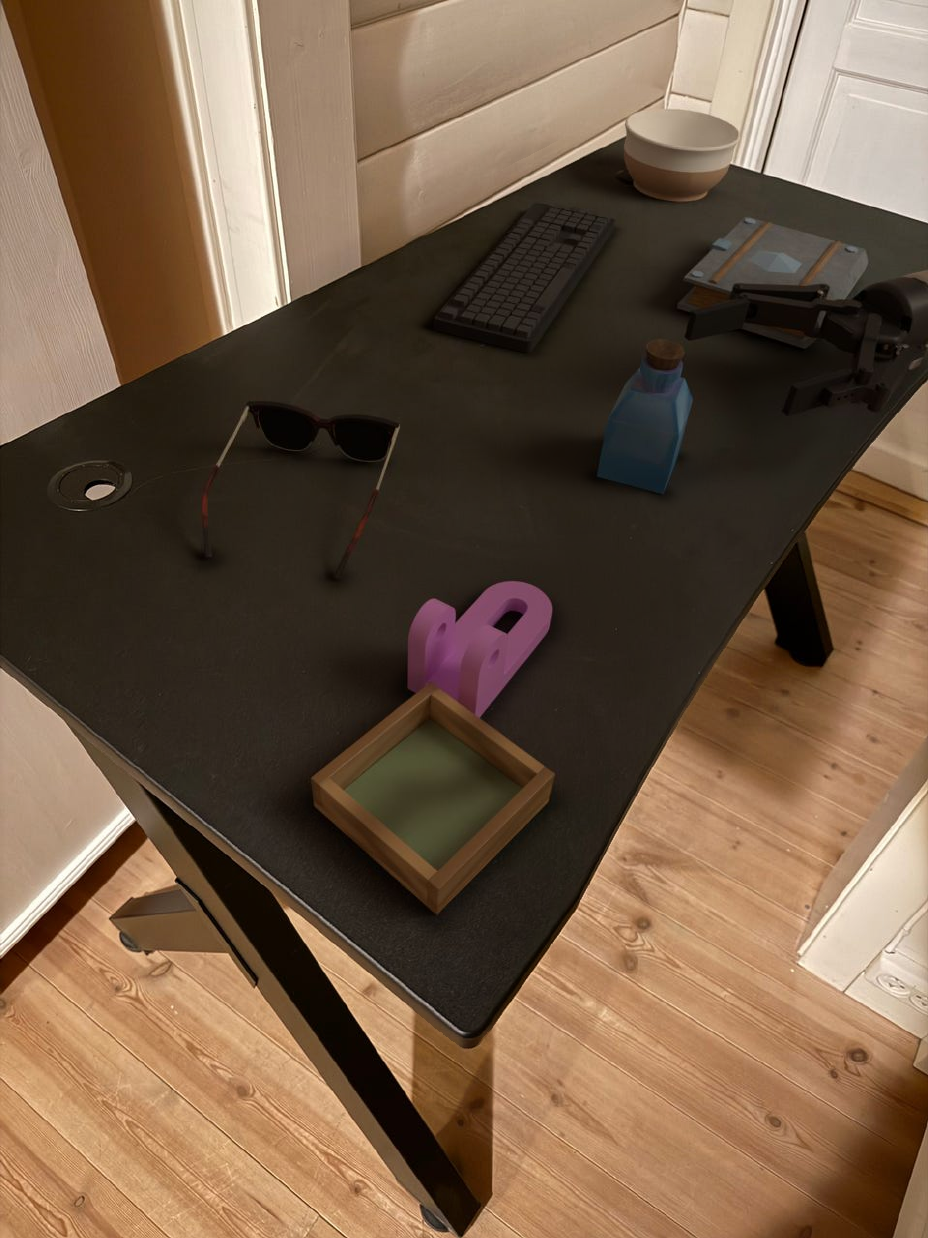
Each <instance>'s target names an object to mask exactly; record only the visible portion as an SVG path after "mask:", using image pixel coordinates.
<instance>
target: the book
mask: <svg viewBox="0 0 928 1238" xmlns="http://www.w3.org/2000/svg"><path fill="white" fill-rule="evenodd" d="M868 265H869V258H868V255H867V250H866V249H865V248H862V247H859V246H854V245H851V244H848V243H844V242H841V241H840V240H833V239H829V238H826V237H822V236H818V235H814V234H813V233H807V232H804V231H801V230H796V229H794V228H793V229H792V228H789V227H786V226H783V225H778V224H775V223H772V222H771V221H764V220H760V219H757V218H753V217H750V216H745V217H743V219H741V220H740V222H738V224H736V225H735V226H734V227H733V228H732V230H730V231H729V232H728V234H726V235H725V236H724V237H723V238H722V237H718V238H716V240H714V242H713V243H712V244H711V245H710V246H709V250H708V253H707V254H706V255H705V256H704V257H703V258H702V259H701V260H700V261H699V262H697V264H696V265H695V266H694V267H693V268H692V269H691V270H690V271H689V272H687V274H686V275H685V276H684V278H683V282H687V283H690V284H693V287H692V288H691V289H690V290H689V291H688V292H687V293H686V295H684V296H683V297H682V299H681V300H680V301H678V303H677V306H676V307H677V308H676V309H678V310H682V311H685V312H688V313H691V311H693V310H697V309H701V308H705V307H709V306H712V305H713V304H716V303H720V302H724V301H728V300H729V298H730V295H731V291H732V288H733V285H734V284H735V283H747V284H773V285H800V286H808V285H814V284H827V285H829V286H830V289H829V292H828V296H830V297H831V298H832V299H834V300H836V299H847V297H848V295H849V294H850V293H851V291H852V290H853V289H854V287H855V285H856V284H857V282H858V281H859V280H860V278H861V277H862V275H863V274H864V272H865V271H866V270H867V267H868ZM825 313H826V312H825V311H821V312H820V313H819V316H818V319H817V321H816V324H815V327H817V328H820V326H821V324H822V321H823V318H824V316H825ZM740 329H742V330H744V331H746V332H747V331H748V332H751V333H754V334H757V335H760V336H764V337H766V338H770V339H773V340H776V341H779V342H782V343H785V344H788V345H792V346H795V347H798V348H801V349H804V350H806V349H807V348H808V347H810V346H811V345H812V344H813V343H814V342H816V341H817V340H819V339H818V338H811V337H807V336H805V334H804V332H803V331H798V330H791V329H785V328H778V327H771V326H765V325H758V324H752V323H745V322H744V324H743V328H740Z"/></svg>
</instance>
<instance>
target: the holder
mask: <svg viewBox="0 0 928 1238" xmlns="http://www.w3.org/2000/svg"><path fill="white" fill-rule="evenodd" d="M555 775H556V774H555V772H554V771H552V770H550V769H549V768H548V767H547V766H545V765H544V764H542V763H541V762H539V761H538V760H537V759H536V758H534V757H533V756H531V755H530V754H529V753H527V752H526V751H525V750H523V749H522V748H521V747H520V746H518V745H517V744H515V743H514V742H513V741H511V740H510V739H508V738H507V737H505V735H503V734H502V733H500V731H497V729H495V728H494V727H492V726H491V725H490V724H488V722H486V721H484V720H483V719H481V717H480V718H479V717H477V716H476V715H475V714H473V713H472V712H471V711H469V710H468V709H466V708H465V707H464V706H462V705H461V704H460V703H458V702H457V701H456V700H454V699H453V698H452V697H450V696H449V695H448V694H446V693H445V692H444V691H442V690H441V689H439V688H438V687H437V686H435V685H434V684H433V683H431V682H429V683H428V684H427V685H426V686H425V687H423V688H422V689H421V690H420V691H418V692H417V693H414V694H413V695H412V696H411V697H409V698H408V699H407V700H406V701H405V702H404V703H402V704H401V705H399V706H397V708H396V709H394V710H393V711H392V712H391V713H390V714H388V715H387V716H386V717H385V718H384V719H382V720H380V721H379V722H378V723H377V724H376V725H375V726H373V727H372V728H371V729H370V730H368V731H367V732H366V733H365V734H363V735H362V736H361V737H360V738H358V739H357V740H356V741H355V742H353V743H352V744H351V745H350V746H349V747H347V748H346V749H345V750H344V751H342V752H341V753H340V754H339V755H337V756H336V757H335V758H334V759H332V760H331V761H330V762H329V763H328V764H326V765H325V766H324V767H322V768H321V769H320V770H319V771H318V772H316V773H314V775H313V776H311V778H310V782H311V783H310V784H311V790H312V798H313V799H312V800H313V806H314V807H315V808H316V810H318V811H319V812H320V813H321V814H322V815H324V817H326V818H327V819H328V820H329V821H330V822H331V823H332V824H334V825H335V826H336V827H337V829H339V830H340V831H342V833H343V834H345V835H346V836H347V837H348V838H349V839H351V840H352V842H354V843H355V844H356V845H357V846H358V847H360V849H362V850H363V851H364V852H365V853H366V854H367V855H369V856H370V857H371V858H372V859H373V860H374V861H375V862H376V863H378V864H379V865H380V866H381V868H383V869H384V870H385V871H386V872H388V873H389V874H390V875H391V876H392V877H393V878H394V879H395V880H396V881H398V882H399V883H400V884H401V885H402V886H403V887H404V888H406V890H408V891H409V892H410V893H411V894H412V895H413V896H415V897H416V899H418V900H419V901H420V902H421V903H422V904H424V905H425V906H426V907H427V908H428V909H429V910H430V911H431V912H432V913H434V914H435V915H439V914H440V912H441V911H442V910H443V909H445V908H446V906H448V904H449V903H450V902H451V901H452V900H453V899H454V898H455V897H456V896H457V895H458V894H459V893H461V891H462V890H463V889H464V888H465V887H466V886H467V885H468V884H469V883H470V882H471V881H472V880H473V879H474V878H475V877H476V876H477V875H478V874H479V873H480V872H481V871H482V870H483V869H484V868H485V867H486V866H487V865H488V864H489V863H490V862H491V861H492V860H493V858H495V857H496V856H497V855H498V854H499V853H500V851H502V850H503V849H504V848H505V846H507V845H508V843H510V842H511V841H512V839H513V838H514V837H516V835H518V834H519V832H520V831H522V829H523V828H524V827H526V825H527V824H529V822H530V821H531V820H532V819H533V818H534V817H535V816H536V815H537V814H538V813H539V812H540V811H541V810H542V809H543V808H544V807H546V805H548V803H549V801H550V797H551V793H552V788H553V784H554V780H555Z"/></svg>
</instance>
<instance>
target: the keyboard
mask: <svg viewBox="0 0 928 1238" xmlns="http://www.w3.org/2000/svg"><path fill="white" fill-rule="evenodd" d="M615 222H616V220H615V219H614V218H612V217H611V214H609V213H604V212H600V211H595V210H588V209H585V208H581V207H576V206H571V205H564V204H562V203H558V202H557V203H556V202H554V203H553V204H552V205H549V204H545V203H540V202H534V203H533V204H532V205H530V207H529V208H528V209H527V210H526V211H525V213H524V214H523V215H522V216H521V217H520V218H519V220H517V222H516V223H515V224H514V225H513V226H512V227H511V228H510V230H509V231H508V232H507V233H506V234H505V235H504V237H503V238H502V239H501V240H500V241H499V242H498V243H497V244H496V246H495V247H494V248H493V249H492V250H491V251H490V252H489V253H488V255H487V256H486V257H485V258H484V259H483V260H482V261H481V262H480V264H479V265H478V266H477V267H476V268H475V270H474V271H473V272H472V273H471V274H470V276H469V277H467V279H465V281H464V282H463V283H462V284H461V285H460V287H458V289H457V290H456V292H454V294H453V295H452V296H451V297H450V298H449V299H448V301H447V302H446V303H445V304H444V305H443V306H442V307H441V308H440V309H439V310H438V312H437V313H436V314H435V315H434V331H436V332H441V333H443V334H448V335H452V336H457V337H461V338H464V339H469V340H472V341H476V342H481V343H485V344H488V345H493V346H495V347H501V348H505V349H509V350H513V351H517V352H520V353H525V354H530V353H532V352H533V351H534V349H535V348H536V346H537V345H538V343H539V342H540V340H541V339H542V338H543V335H544V334H545V333H546V331H547V330H548V328H549V327H550V325H552V323H553V321H554V319H555V318H556V317H557V316H558V314H559V312H560V311H561V309H562V308H563V306H564V305H565V303H566V302H567V300H569V298H570V296H571V294H572V293H573V292H574V290H575V289H576V287H577V286H578V284H579V282H580V281H581V280H582V278H583V276H584V275H585V273H586V272H587V271H588V269H589V268H590V266H591V265H592V263H593V262H594V261H595V259H596V257H597V256H598V254H599V253H600V252H601V250H602V249H603V247H604V246H605V245H606V242H607V241H608V239H609V238H610V237H611V236H612V233H613V232H614V228H615Z"/></svg>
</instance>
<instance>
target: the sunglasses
mask: <svg viewBox="0 0 928 1238" xmlns="http://www.w3.org/2000/svg"><path fill="white" fill-rule="evenodd" d="M245 405H246V406H245V408H244V410H243V412H242V414H241V416H240V417H239V418H240V419H239V421H238V423H237V425H236V427H235V428H234V431H233V432H232V435H231V436H230V437H229V438H230V439H229V440H228V442H227V444H226V446H225V448H224V450H223V451H222V454H221V455H220V457H219V458H218V460H217V463H216V464H215V466H214V467H213V469H212V471H211V473H210V475H209V477H208V479H207V481H206V483H205V486H204V488H203V492H202V497H201V522H202V536H203V539H202V540H203V553H204V558H205V559H210V558H212V557H213V554H212V548H211V542H210V534H209V533H210V531H209V517H208V500H209V496H210V495H209V494H210V490H211V489H212V485H213V483H214V482H215V480H216V478H217V475H218V474H219V471H220V466H221V465H222V463H223V461H224V458H225V456H226V454H227V453H228V451H229V449H230V447H231V445H232V443H233V441H234V439H235V437H236V436H237V433H238V431H239V429H240V427H241V426H242V424H243V423H245V420H246V418H247V417H248V415H249V413H250V414H251V415H252V417H253V421H254V423H255V426H256V429H258V430H261V432H262V435H263V436H264V438H265V440H266V441H267V442H268V443H269V444H270V445H272V446H273V447H277V448H279V449H282V450H285V451H291V452H303V451H305V450H307V449H308V448H309V447H310V445H311V444H312V443H314V442H315V440H316V438H317V436H318V434H319V431H320V429H324V430H326V432H327V433H328V435H329V437H330V439H331V441H332V442H333V444H334V446H336V447H339V449H340V451H342V453H343V454H344V455H346V457H348V458H350V459H352V460H354V461H359V462H364V463H373V462H381V461H383V460H384V459H385V462H384V464H383V467H382V470H381V471H380V472H381V473H380V476H379V478H378V481H377V483H376V487H375V489H373V490H372V493H371V496H370V499H369V502H368V505H367V507H366V510H365V512H364V514H363V515H362V517H361V520H360V521H359V524H358V526H357V527H356V530H355V532H354V534H353V537H352V538H351V540H350V542H349V544H348V546H347V548H346V550H345V552H344V554H343V556H342V558H341V560H340V562H339V564H338V566H337V568H336V571H335V573H334V574H333V577H334V578H335V579H337V580H341V578H342V576H343V573H344V571H345V568H346V565H347V563H348V561H349V558H350V556H351V555H352V553H353V551H354V548H355V547H356V544H357V542H358V541H359V538H360V536H361V534H362V532H363V530H364V528H365V525H366V523H367V522H368V520H369V518H370V515H371V513H372V511H373V509H374V506H375V504H376V500H377V497H378V494H379V490H380V487H381V484H382V481H383V479H384V474H385V472H386V469H387V466H388V463H389V461H390V458H391V455H392V452H393V450H394V447H395V443H396V441H397V437H398V434H399V433H400V430H401V423H399V422H398V421H394V420H390V419H387V418H384V417H380V416H375V415H369V414H361V413H348V414H347V413H346V414H338V415H334V416H332V417H330V418H321V417H319V416H317V415H316V414H315V413H314V412H312V411H309V410H307V409H304V408H302V407H300V406H297V405H293V404H290V403H284V402H280V401H268V400H250V401H249V400H248V401H247V403H245Z"/></svg>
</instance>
